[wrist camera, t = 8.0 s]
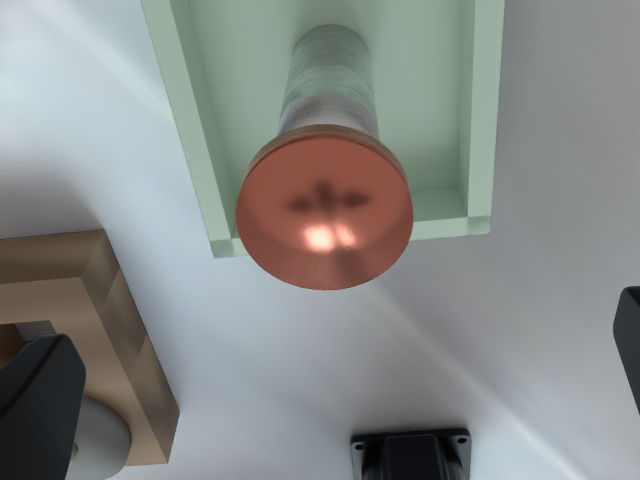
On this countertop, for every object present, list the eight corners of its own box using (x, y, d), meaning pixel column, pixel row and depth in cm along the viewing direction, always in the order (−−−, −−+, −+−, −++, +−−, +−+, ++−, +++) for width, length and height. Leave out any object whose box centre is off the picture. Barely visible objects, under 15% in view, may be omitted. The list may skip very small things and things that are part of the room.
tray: (474, 194, 23) (489, 233, 21) (223, 218, 24) (214, 258, 22) (491, -179, 16) (516, -177, 14) (133, -129, 17) (106, -118, 15)
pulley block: (179, 412, 31) (161, 490, 28) (35, 422, 32) (-1, 500, 29) (104, 229, 24) (66, 302, 21) (-80, 247, 25) (-146, 321, 21)
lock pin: (388, 110, 20) (415, 284, 13) (285, 120, 21) (253, 295, 13) (382, 1, 18) (410, 134, 11) (267, 14, 19) (218, 151, 11)
